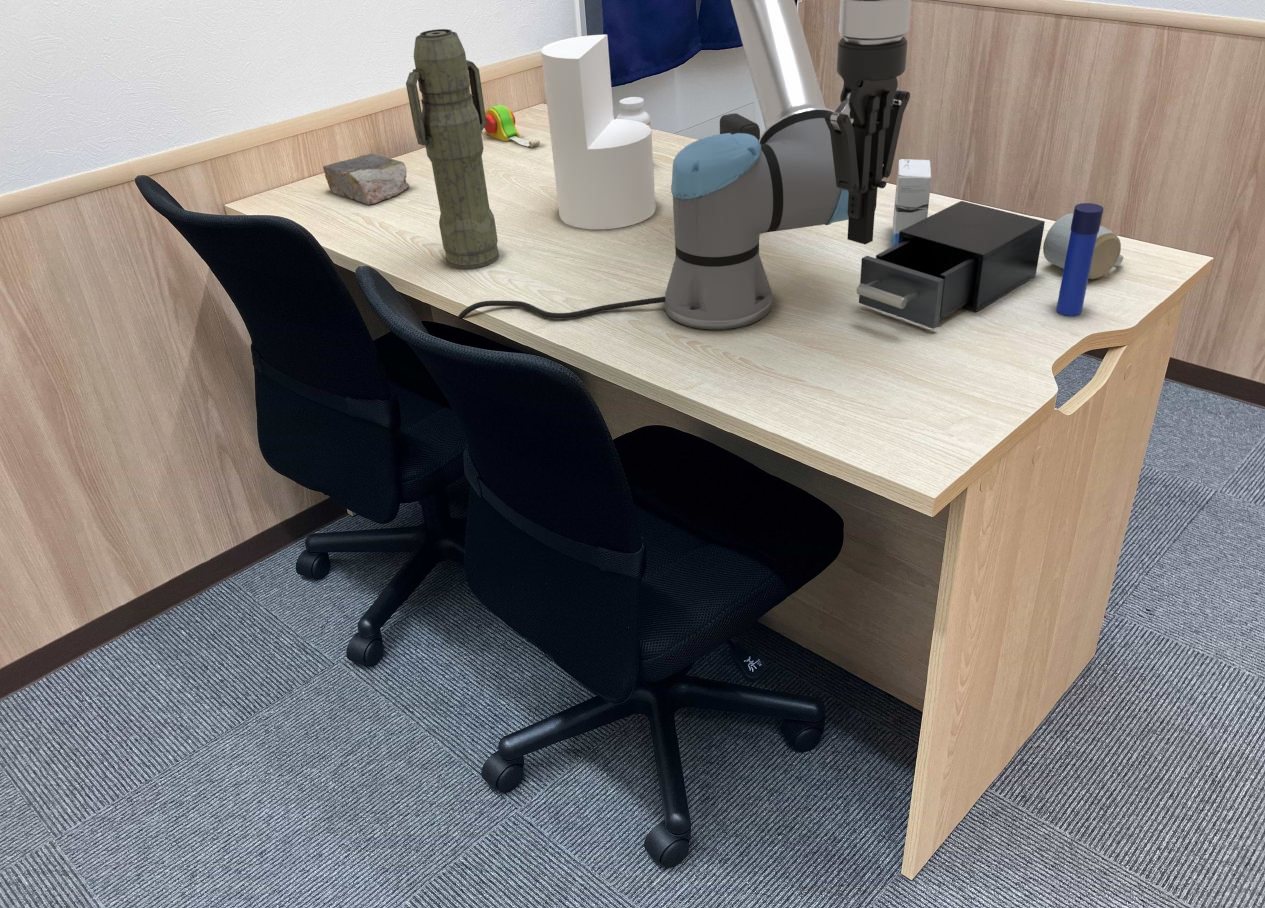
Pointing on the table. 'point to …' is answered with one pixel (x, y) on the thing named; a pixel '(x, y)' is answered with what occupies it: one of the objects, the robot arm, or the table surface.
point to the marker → (1079, 258)
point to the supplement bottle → (633, 110)
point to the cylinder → (594, 140)
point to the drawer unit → (985, 245)
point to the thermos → (454, 145)
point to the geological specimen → (367, 178)
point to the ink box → (911, 194)
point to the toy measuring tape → (504, 126)
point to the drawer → (918, 281)
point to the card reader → (738, 125)
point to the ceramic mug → (1103, 252)
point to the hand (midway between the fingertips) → (860, 239)
